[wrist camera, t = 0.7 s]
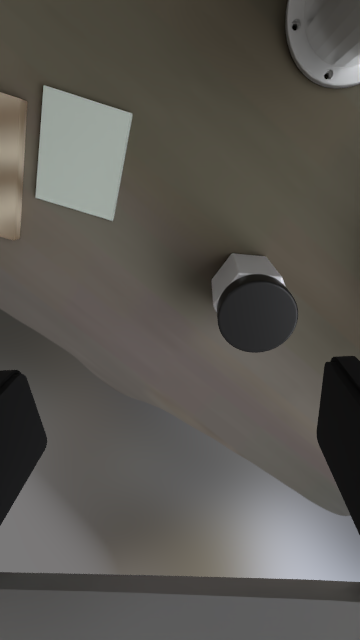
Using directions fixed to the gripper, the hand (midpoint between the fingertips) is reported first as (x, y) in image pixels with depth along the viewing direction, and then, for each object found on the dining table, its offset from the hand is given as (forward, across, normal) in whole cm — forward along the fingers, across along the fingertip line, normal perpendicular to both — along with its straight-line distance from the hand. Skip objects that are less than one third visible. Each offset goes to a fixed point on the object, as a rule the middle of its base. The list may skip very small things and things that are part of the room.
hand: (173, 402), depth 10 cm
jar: (+34, -6, +7) cm, 35 cm away
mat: (+33, +13, -10) cm, 37 cm away
